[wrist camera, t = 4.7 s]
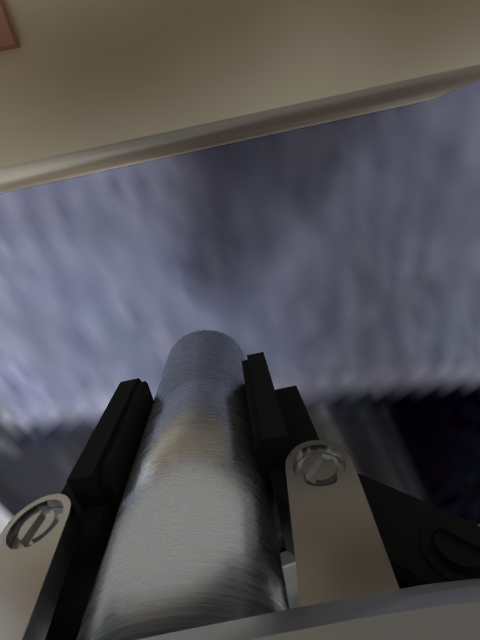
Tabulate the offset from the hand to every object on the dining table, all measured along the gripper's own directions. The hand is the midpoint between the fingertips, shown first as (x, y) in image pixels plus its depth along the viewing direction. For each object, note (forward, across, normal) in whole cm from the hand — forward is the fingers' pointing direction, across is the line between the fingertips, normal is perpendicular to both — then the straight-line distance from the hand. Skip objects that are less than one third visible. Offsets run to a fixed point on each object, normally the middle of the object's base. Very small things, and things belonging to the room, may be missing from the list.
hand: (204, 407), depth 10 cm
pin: (+3, 0, 0) cm, 3 cm away
